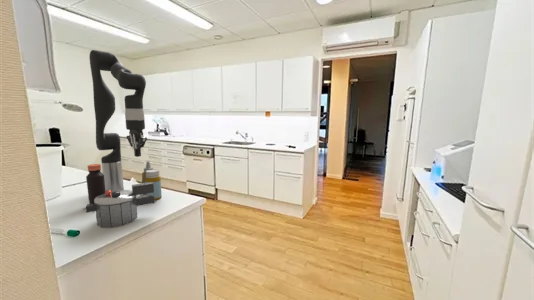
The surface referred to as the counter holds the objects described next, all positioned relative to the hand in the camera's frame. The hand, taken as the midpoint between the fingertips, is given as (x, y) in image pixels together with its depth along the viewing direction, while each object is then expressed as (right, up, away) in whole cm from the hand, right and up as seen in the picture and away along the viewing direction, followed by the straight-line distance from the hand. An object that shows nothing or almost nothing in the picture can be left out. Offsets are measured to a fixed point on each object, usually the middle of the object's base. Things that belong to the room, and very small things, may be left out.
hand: (137, 156), depth 107 cm
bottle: (+1, -23, +14) cm, 27 cm away
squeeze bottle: (-6, -21, +23) cm, 32 cm away
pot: (0, -26, -10) cm, 28 cm away
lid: (+1, -17, -10) cm, 20 cm away
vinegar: (-21, -24, +4) cm, 32 cm away
